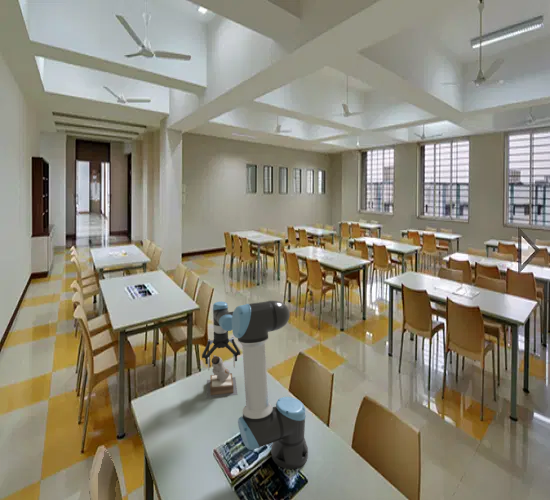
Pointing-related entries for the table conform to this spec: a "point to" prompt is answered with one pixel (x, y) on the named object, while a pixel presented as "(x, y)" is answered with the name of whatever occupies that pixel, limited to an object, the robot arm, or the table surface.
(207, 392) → the mat
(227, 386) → the plinth
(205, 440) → the table surface
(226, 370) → the figurine
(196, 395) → the table surface
